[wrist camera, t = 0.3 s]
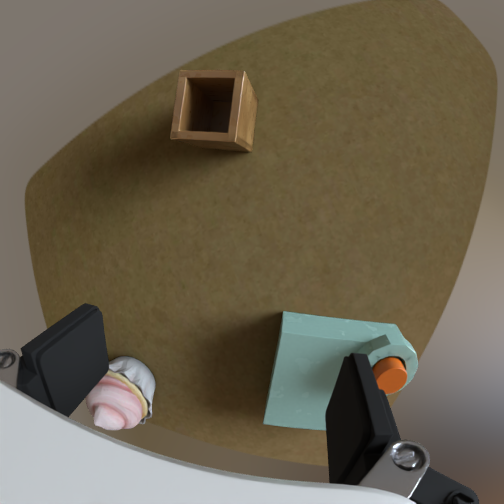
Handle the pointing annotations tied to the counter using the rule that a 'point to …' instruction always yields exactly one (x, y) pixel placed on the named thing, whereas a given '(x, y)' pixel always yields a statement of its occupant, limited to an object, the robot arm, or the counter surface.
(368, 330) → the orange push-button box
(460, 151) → the counter surface
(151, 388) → the cupcake
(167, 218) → the counter surface
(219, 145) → the open wooden box
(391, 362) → the button
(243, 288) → the counter surface
